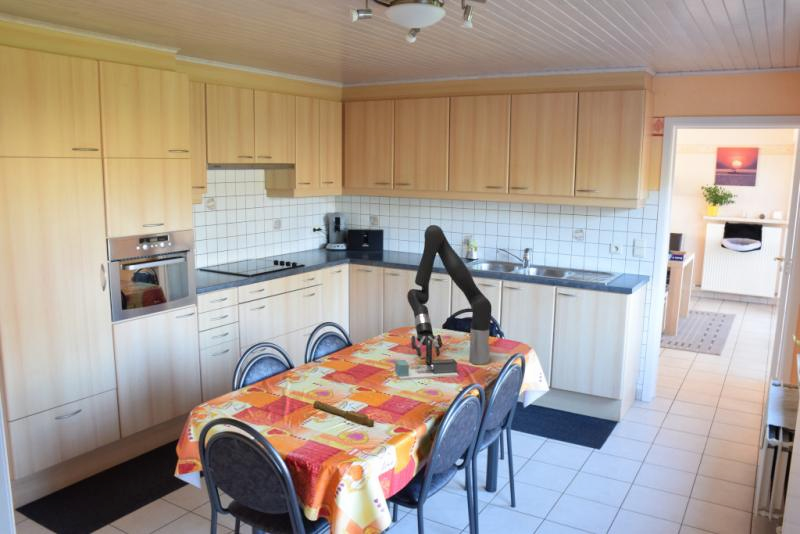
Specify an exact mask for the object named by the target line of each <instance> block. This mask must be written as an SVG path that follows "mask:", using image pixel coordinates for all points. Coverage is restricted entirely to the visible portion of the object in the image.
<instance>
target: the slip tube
mask: <svg viewBox="0 0 800 534" xmlns="http://www.w3.org/2000/svg"><path fill="white" fill-rule="evenodd" d="M432 343H433V342H432V340H431V339H428V340H426V345H425V346H426V348H425V364H416V368H415V369H417V371H419V370H426V371H431V370H434V364H432V360H433V347H432Z"/></svg>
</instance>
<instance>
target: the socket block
mask: <svg viewBox="0 0 800 534" xmlns="http://www.w3.org/2000/svg"><path fill="white" fill-rule="evenodd" d="M394 365H395V366H394V370H395V372H396V373H397V375H398V376H399V377H406V376H409V369H410V365H409V363H408V362H407V361H406V359H396V360H395V362H394ZM395 372H394V373H395ZM397 375H396V376H397Z"/></svg>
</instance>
